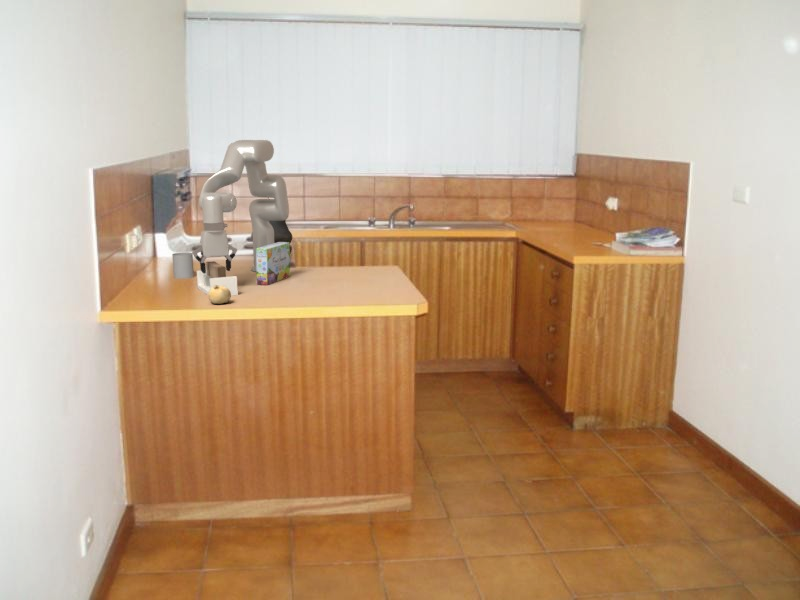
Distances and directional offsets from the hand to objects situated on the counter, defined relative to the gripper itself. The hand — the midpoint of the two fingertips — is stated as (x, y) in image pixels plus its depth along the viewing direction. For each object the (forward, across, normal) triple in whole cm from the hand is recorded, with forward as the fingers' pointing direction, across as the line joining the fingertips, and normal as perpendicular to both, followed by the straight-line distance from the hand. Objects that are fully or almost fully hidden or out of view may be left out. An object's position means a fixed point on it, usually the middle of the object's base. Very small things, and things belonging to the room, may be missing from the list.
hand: (216, 271), depth 301 cm
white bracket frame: (+8, 0, 0) cm, 8 cm away
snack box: (+8, -27, -11) cm, 30 cm away
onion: (+8, +5, +22) cm, 24 cm away
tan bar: (+2, 0, 0) cm, 2 cm away
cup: (+8, +4, -38) cm, 39 cm away
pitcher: (+8, -50, -78) cm, 93 cm away
